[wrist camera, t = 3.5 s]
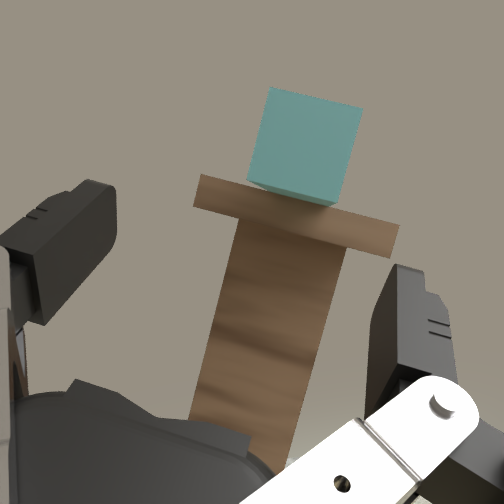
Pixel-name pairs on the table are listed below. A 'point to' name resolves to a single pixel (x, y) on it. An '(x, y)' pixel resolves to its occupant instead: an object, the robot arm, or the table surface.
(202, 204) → the walnut stand
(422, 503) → the table surface
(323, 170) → the teal bar
